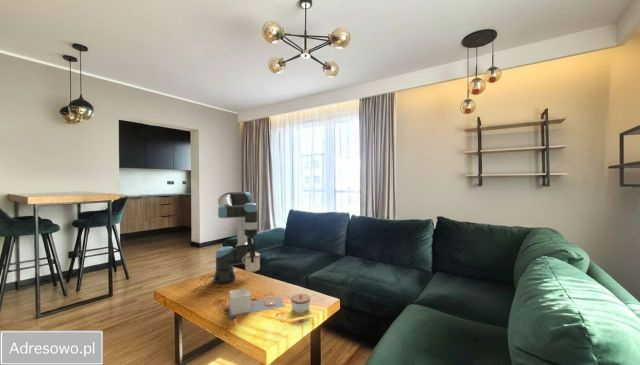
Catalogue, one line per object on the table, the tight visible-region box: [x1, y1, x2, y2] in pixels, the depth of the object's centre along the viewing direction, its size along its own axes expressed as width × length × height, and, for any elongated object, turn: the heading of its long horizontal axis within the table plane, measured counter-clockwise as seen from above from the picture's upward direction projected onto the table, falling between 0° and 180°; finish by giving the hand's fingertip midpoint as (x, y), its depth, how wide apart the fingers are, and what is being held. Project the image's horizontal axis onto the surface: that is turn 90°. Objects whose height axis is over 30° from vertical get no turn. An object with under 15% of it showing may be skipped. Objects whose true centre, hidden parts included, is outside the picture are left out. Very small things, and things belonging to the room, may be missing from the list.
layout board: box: [227, 296, 286, 320], centre depth 149 cm, size 13×30×1 cm, turn 113°
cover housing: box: [229, 287, 252, 315], centre depth 145 cm, size 10×10×9 cm
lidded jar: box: [290, 293, 311, 314], centre depth 146 cm, size 11×11×9 cm
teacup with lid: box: [242, 251, 261, 273], centre depth 162 cm, size 12×9×12 cm
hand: (250, 265), depth 161 cm, fingers closed on teacup with lid, 9 cm apart
